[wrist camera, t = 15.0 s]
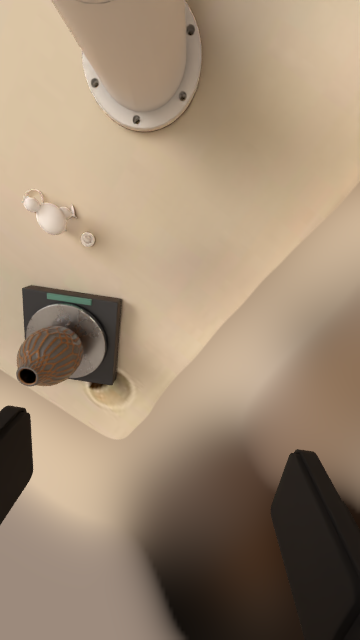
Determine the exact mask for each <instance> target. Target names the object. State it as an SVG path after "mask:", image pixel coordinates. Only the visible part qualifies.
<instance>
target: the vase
mask: <svg viewBox="0 0 360 640" xmlns="http://www.w3.org/2000/svg"><path fill="white" fill-rule="evenodd" d="M82 358H83V344H82V342H81V340H80V338H79V337H78V335H77V334H76V333H75V332H73V331H72V330H70V329H68V328H66V327H62V326H49V327H45V328H42V329H40V330H38V331H36V332H34V333H33V334H31V335H30V336H29V337H28V338H27V339H26V340H25V341H24V342H23V344H22V345H21V347H20V349H19V351H18V355H17V366H18V370H17V373H16V375H17V379H18V380H19V381H20V382H21V383H22V384H23V385H26V386H34V385H40V386H51V385H55V384H58V383H60V382H62V381H64V380H66V379H68V378H69V377H70V376H71V375H72V374H73V373H74V372H75V371H76V370H77V368H78V367H79V365H80V363H81V361H82Z"/></svg>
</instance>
